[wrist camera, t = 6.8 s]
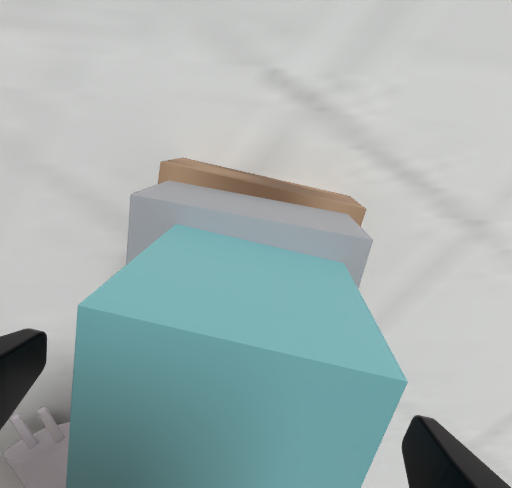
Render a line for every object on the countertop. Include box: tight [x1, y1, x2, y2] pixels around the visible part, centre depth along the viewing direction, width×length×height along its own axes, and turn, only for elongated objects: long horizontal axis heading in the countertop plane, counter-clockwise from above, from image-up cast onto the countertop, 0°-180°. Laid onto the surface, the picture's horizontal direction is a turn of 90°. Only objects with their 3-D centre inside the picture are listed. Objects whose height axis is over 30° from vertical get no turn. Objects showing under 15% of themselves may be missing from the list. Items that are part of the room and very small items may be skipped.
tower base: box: [158, 158, 366, 227], centre depth 16 cm, size 8×8×4 cm
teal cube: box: [66, 224, 407, 488], centre depth 8 cm, size 5×5×5 cm
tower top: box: [126, 180, 373, 288], centre depth 12 cm, size 7×7×4 cm
